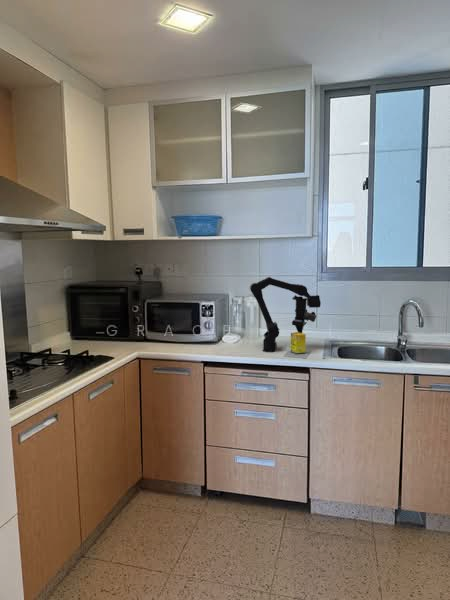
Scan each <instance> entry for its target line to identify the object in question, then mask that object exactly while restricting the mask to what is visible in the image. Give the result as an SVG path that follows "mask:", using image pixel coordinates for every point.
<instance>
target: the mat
mask: <svg viewBox="0 0 450 600" xmlns="http://www.w3.org/2000/svg"><path fill="white" fill-rule="evenodd" d="M290 351H291V350H288V351H286V352H285V354H284V355H283V356H284V358H285V357H286V358H297V359H307V358H308V357H309V355H310V352H306V351H305V354H298V355H296V354H294V353H292V352H290Z"/></svg>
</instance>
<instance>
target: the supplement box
mask: <svg viewBox="0 0 450 600" xmlns="http://www.w3.org/2000/svg"><path fill="white" fill-rule="evenodd" d="M306 336H307V335H306V333H303V332H302V333H301V332H298V331H295V332H294V331H293V332H290V350H289V351H290V352H292V353H294V354H296V355H298V354H305V352H306V339H307V337H306Z"/></svg>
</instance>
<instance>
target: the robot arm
mask: <svg viewBox="0 0 450 600" xmlns="http://www.w3.org/2000/svg"><path fill="white" fill-rule="evenodd" d="M269 286H274V287H276V288H281V289H284V290H287V291H290V292H292V293H294V294H295V295H294V296H293V297H292V298H291V299H292V300H293V301H295V309H294V312H295V316H294V319H293V320H292V321H291V325H292V326H295V329H296V332H301V333H303V330H304V327H305V325H306V324H308V323H307V322H308V321H310V322H311V323H314V322H315V321H316V319H317V314H316V312H315V311H311V312H308V309H307V307H308V308H311V309H312V308H320V307H321V304H322V303H321V297H320V295H319V294H316V295H311V294H310V293H309V292H308V288H307V286H306V285H303V284H299V283H289V282H285V281H282V280H281V279H280V280H279V279H275V278H272V277H270V276H268V277H266V278H264V279H262V280H260V281H258V282H252V283H251V284H250V286H249V290H250V292H251V293H252V295H253V297H254V298H255V300H256V303H257V304H258V307H259V309H260V312H261V314H262V316H263V320H264V322H265V326H266V332H265V333H264V334H263V338H264V339H263V344H262V345H263V349H262V352H269V353H275V352H276V351H277V347H278V345H277V343H278V342H277V341H276V339H277V338H278V337H279V335H280V328H279V326H278V323H277V322H276V321H273V319H272V317H271V314H270V312H269V309H268V306H267V305H266V302H265V299H264V295H263V291H262V290H263V289H266V288H267V287H269ZM297 295H298V296H297ZM306 321H307V322H306Z"/></svg>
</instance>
